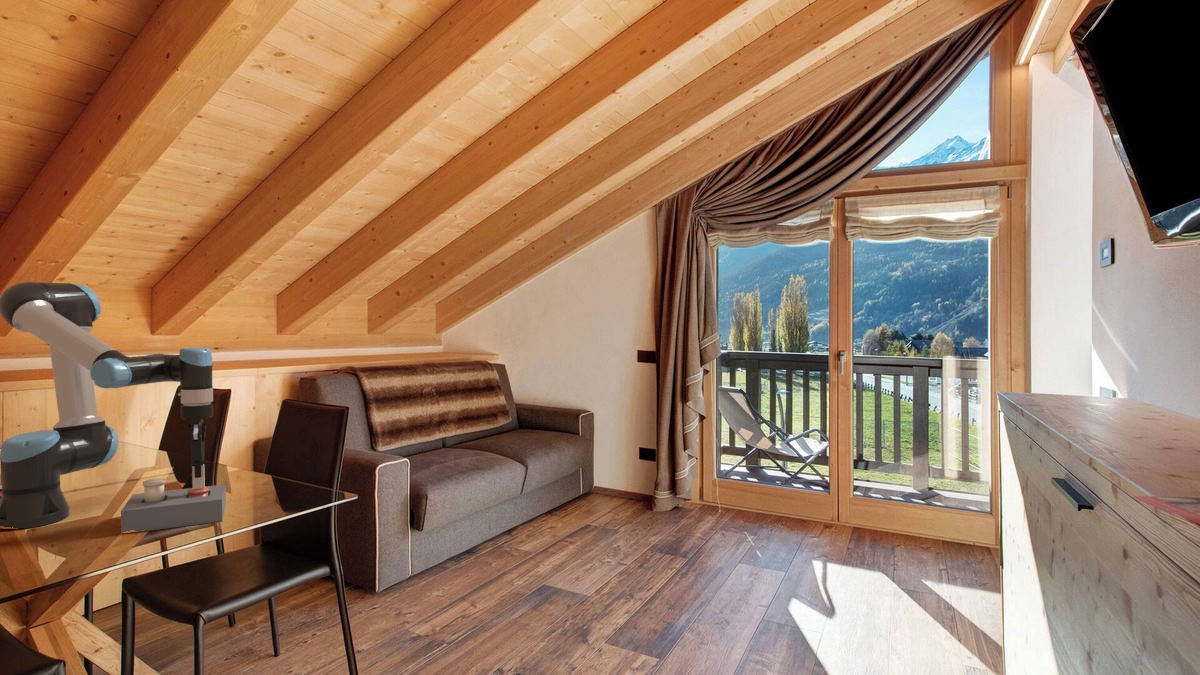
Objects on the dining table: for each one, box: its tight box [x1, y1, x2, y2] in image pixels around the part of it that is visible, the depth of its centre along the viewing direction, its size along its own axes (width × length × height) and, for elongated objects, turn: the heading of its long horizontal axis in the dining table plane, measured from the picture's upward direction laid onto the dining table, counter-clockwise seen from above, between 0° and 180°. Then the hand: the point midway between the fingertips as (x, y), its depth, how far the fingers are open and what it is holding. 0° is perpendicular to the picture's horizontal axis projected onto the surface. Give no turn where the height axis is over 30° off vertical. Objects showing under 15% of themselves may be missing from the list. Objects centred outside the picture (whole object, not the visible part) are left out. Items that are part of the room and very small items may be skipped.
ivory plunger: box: [142, 478, 167, 503], centre depth 167 cm, size 5×5×7 cm
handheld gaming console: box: [181, 475, 212, 489], centre depth 187 cm, size 12×7×10 cm
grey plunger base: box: [120, 484, 227, 533], centre depth 170 cm, size 16×22×6 cm
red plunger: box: [188, 486, 209, 498], centre depth 172 cm, size 5×5×7 cm
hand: (198, 488), depth 172 cm, fingers closed
